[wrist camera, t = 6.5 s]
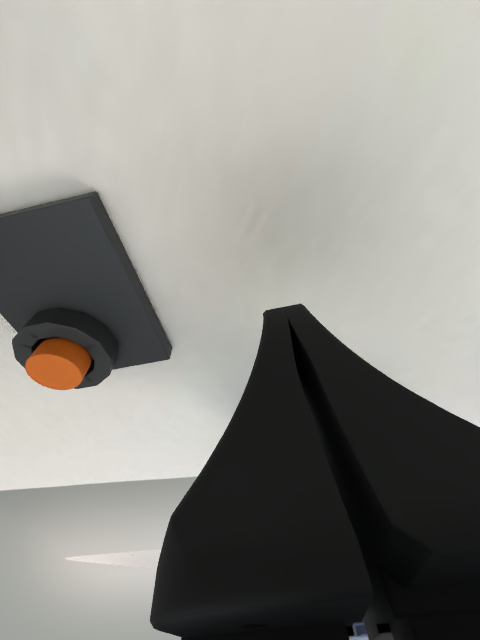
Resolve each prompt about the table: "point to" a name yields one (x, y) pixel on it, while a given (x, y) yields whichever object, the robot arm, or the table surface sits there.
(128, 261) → the orange button switch
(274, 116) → the table surface
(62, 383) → the round orange button cap
